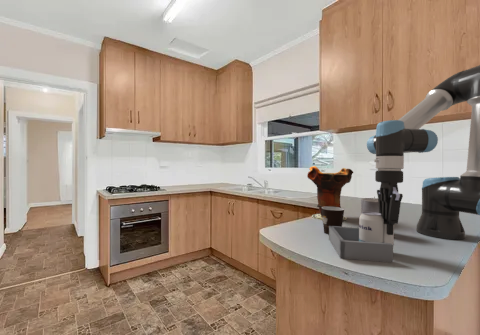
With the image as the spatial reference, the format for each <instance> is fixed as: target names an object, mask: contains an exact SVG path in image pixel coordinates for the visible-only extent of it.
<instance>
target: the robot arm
mask: <svg viewBox="0 0 480 335" xmlns="http://www.w3.org/2000/svg"><path fill="white" fill-rule="evenodd" d="M464 102H466V103H467V104H468V105H469V106H471V114H470V115H471V117H470V126H469V127H470V128H469V138H468V149H467V150H468V152H467V159H466V160H467V162H466V171H465V172H463V173H461V174H460V177H459V176H443V177H442V176H441V177H439V176H438V177H429V178H425V179H424V180H422V185H421V186H422V187H421V215H420V217H419V218H418V221H417V223H416V229H415V231H416V232H417V233H419V234H421V235H425V236H429V237H433V238H438V239H446V240H464V239H466V231H465V229H464V226H463V223H462V220H461V219H460V213H466V214H472V215H477V216H480V64H479V65H477V66H476V65H475V66H474V67H471V68H468V69H465V70H462V71H459V72H457V73H454V74H453V75H451V76H449V77H447V78H446V79H445V80H443V81H442V82H440V83H439V84H437V85H436V86H435V87H434V88H432V89H431V90H430V91H428V92H427V94H426V96H425V97H424V99H423V100H421V101H420V102H419V103H418V104H417V105H415V106H413V108H411V109H410V110H409V111H407V112H406V113H405V114H404V115H403V116H401V117H400V118H398V119H393V120H392V119H390V120H383V121H380V122H379V123H377V125H376V130H375V135H373V136H369V138H368V139H367V141H366V148H367V150H368V152H370V154H373V155H375V159H374V160H373V161H374V163H375V169H376V171H375V174H374V175H375V178H374V179H375V181H376V182H377V183H380V185H379V187H380V188H379V189H376V195H377V198H378V204H379V213H380V214H381V216H382V218H383V219H384V239H383V243H391V244H393V246H394V242H395V240H394V237H395V235H394V234H395V225H397V224H399V217H400V210H401V205H402V204H401V203H402V199H403V196H404V195H403V194H402V193H399V186H398V184H401V183H403V182H404V171H403V169H404V166H405V165H404V163H405V155H404V153H405V154H406V153H409V154H410V153H419V154H420V153H422V154H423V153H430V152H431V151H433V150H434V149H435V148H436V147H437V146H438V141H439V138H438V135H437V133H436V132H435V131H433V130H430V129H425V128H422V127H423V126H425V125H426V124H427V123H429V121H431V120H432V119H433V118H434V117H436V116H437V115H438V114H439V113H441V112H443V111H446V110H448V109H450V108H451V107H452V106H455V105H458V104H460V103H464Z"/></svg>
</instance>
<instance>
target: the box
mask: <svg viewBox="0 0 480 335" xmlns="http://www.w3.org/2000/svg"><path fill="white" fill-rule="evenodd" d="M328 241H329V242H330V244H331V245H332V247H333V248H334V250H335V252H336V253H337V255H338V257H339V258H340V259H343V260H344V259H345V260H347V259H348V260H358V261H359V260H360V261H369V262H370V261H371V262H384V263H394V245H393V244H391V243H378V242H362V241H359V226H358V227H355V226H354V227H353V226H342V227H340V226H329V234H328Z"/></svg>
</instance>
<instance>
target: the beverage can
mask: <svg viewBox="0 0 480 335" xmlns="http://www.w3.org/2000/svg"><path fill="white" fill-rule="evenodd" d="M358 224H359V225H358V228H359V241H362V242H378V243H383V239H384V219H383V218H382V216H381V214H380V213H376V212H362V214H361V213H360V216H359V221H358Z"/></svg>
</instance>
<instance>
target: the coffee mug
mask: <svg viewBox="0 0 480 335" xmlns="http://www.w3.org/2000/svg"><path fill="white" fill-rule="evenodd" d="M344 214H345V208H343V207H341V208H339V207H322V210H321V215H322V218H323V220H322V225H323V232H324V234H325V235H329V226H340V227H343V221H344V220H343V216H345V215H344Z"/></svg>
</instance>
